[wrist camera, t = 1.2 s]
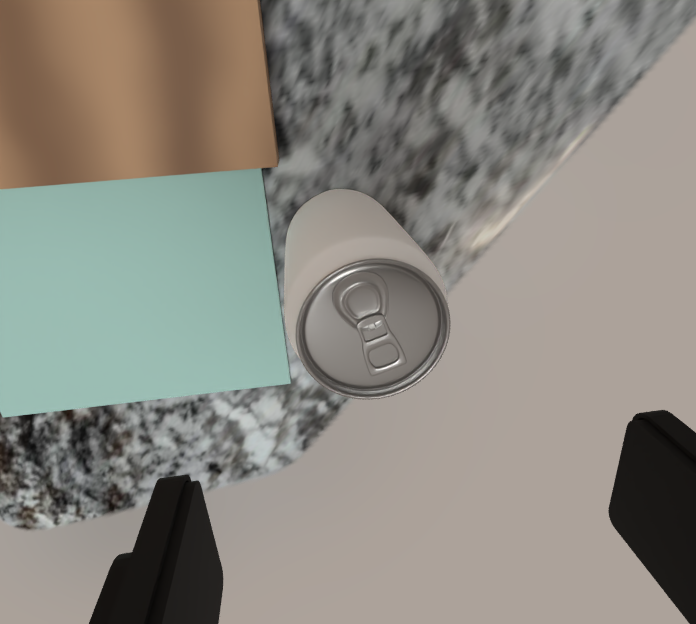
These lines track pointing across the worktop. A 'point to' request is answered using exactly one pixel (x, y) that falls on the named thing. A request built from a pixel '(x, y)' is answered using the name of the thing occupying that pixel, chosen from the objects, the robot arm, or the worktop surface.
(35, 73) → the board
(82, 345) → the mat
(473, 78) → the worktop surface
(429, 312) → the can
